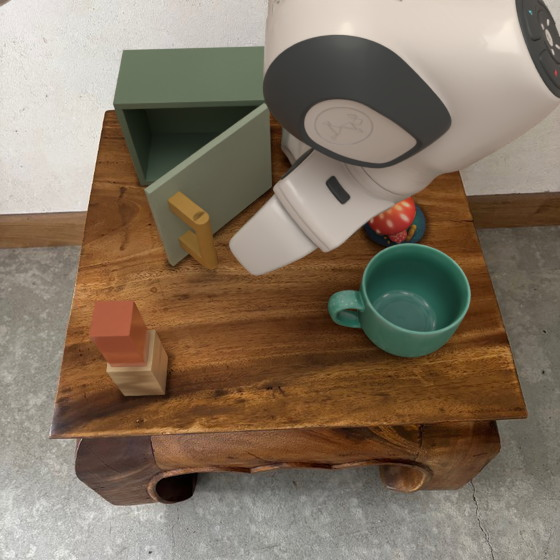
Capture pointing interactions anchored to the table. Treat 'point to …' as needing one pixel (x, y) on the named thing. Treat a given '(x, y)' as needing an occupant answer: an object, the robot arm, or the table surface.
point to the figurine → (397, 224)
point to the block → (120, 333)
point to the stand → (143, 372)
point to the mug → (406, 300)
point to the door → (212, 188)
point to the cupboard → (183, 101)
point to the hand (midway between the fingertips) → (272, 218)
